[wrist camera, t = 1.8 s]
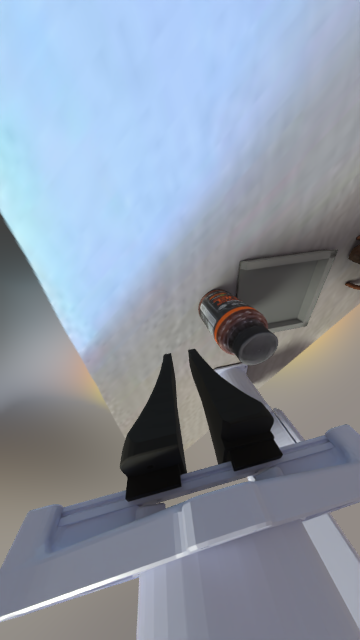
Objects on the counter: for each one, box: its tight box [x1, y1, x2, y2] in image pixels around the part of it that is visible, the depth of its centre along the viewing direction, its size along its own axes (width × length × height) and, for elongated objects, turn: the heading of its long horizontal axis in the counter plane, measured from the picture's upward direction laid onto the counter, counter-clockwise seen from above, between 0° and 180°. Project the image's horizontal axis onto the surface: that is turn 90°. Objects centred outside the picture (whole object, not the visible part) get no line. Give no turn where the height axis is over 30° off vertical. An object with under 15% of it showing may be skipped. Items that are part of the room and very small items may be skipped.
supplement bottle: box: [198, 290, 278, 365], centre depth 18 cm, size 6×6×11 cm
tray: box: [236, 250, 338, 333], centre depth 23 cm, size 13×14×2 cm
